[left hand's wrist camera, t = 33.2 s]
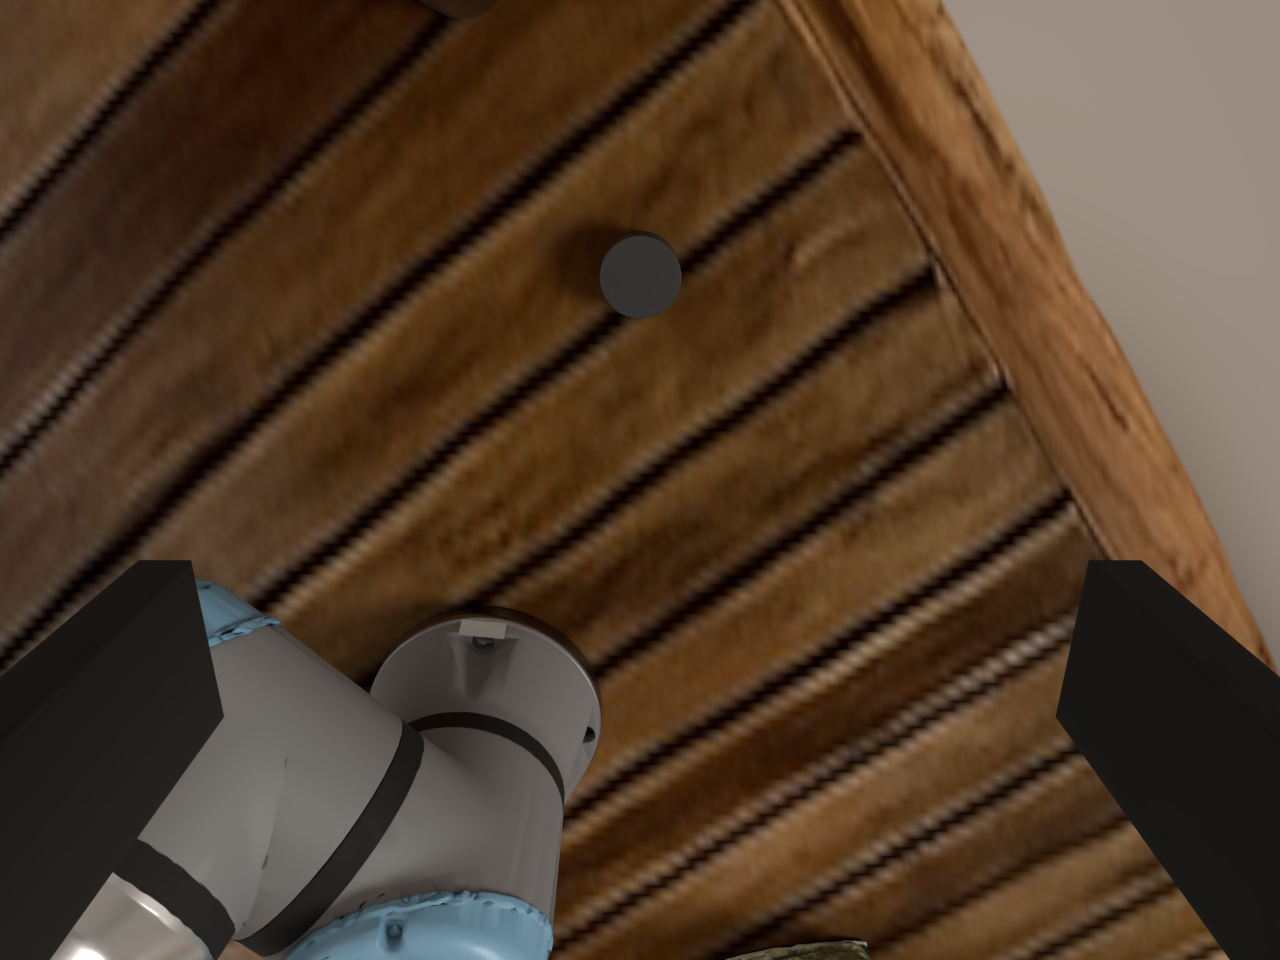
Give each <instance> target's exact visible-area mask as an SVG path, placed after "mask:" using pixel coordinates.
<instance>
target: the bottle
mask: <svg viewBox="0 0 1280 960" xmlns="http://www.w3.org/2000/svg"><path fill="white" fill-rule="evenodd" d="M419 1H421V2H422V3H424V4H426V5H427V6H429V7H431V8H432V9H434V10H435V11H437V12H439V13H440V14H442V15H445V16H447V17H450V18H455V19H469V18H473V17H476V16H479V15H481V14H483V13H484V12H486V11H487V10H489V9H490V8H491V7H492V6H493V5H494V4H495V2H496V1H497V0H419Z"/></svg>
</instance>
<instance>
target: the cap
mask: <svg viewBox="0 0 1280 960" xmlns="http://www.w3.org/2000/svg"><path fill="white" fill-rule="evenodd" d="M680 285H681V270H680V266H679V262H678V259H677V256H676V254H675V252H674V250H673V249H672V247H671V246H670V245H669V244H668V243H667V242H666V241H665V240H664V239H662V238H661V237H659V236H657V235H655V234H652V233H649V232H641V231H640V232H632V233H628V234H625V235H623V236H621V237H620V238H618V239H617V240H616V241H615V242H613V243H612V245H611V246H610V247H609V248H608V250H607V251H606V253H605V255H604V258H603V261H602V265H601V268H600V286H601V290H602V293H603V295H604V297H605V299H606V300H607V302H608V303H609V304H610V305H611V307H613V308H614V309H615V310H616V311H618V312H619V313H621V314H623V315H625V316H628V317H631V318H638V319H643V318H650V317H653V316H656V315H658V314H660V313H662V312H663V311H665V310H666V309H667V308H668V307H669V306H670V305H671V304H672V303H673V301H674V300H675V298H676V296H677V294H678V292H679V289H680Z"/></svg>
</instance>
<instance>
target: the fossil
mask: <svg viewBox="0 0 1280 960" xmlns="http://www.w3.org/2000/svg"><path fill="white" fill-rule="evenodd" d="M726 960H871V958H870V956H869V954H868V950H867V942H860V941H848V940H845V941H839V942H822V943H812V944H799V945H795V946H793V947H787V948H772V949H767V950H762V951H758V952H753V953H748V954H744V955H740V956H736V957H733V958H729V959H726Z"/></svg>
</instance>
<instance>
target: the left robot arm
mask: <svg viewBox="0 0 1280 960" xmlns="http://www.w3.org/2000/svg"><path fill="white" fill-rule="evenodd" d="M281 623H282V622H281V621H280V620H279V619H277V618H276V617H274V616H270V615H268V616H265V615H264V614H262V613H261V612H260V611H258V610H257V609H255V608H254V607H252V606H251V605H249V604H248V603H247V602H245V601H244V600H242V599H241V598H239V597H238V596H236V595H235V594H234V593H232V592H231V591H229V590H228V589H226V588H225V587H223V586H222V585H220V584H218V583H216V582H213V581H210V580H204V579H195V577H194V572H193V567H192V563H191V560H139V561H137V562H136V563H135V564H134V565H133V566H131V567H130V568H129V569H128V570H127V571H125V572H124V573H123V574H122V575H121V576H120V577H118V578H117V579H116V580H115V581H114V582H112V583H111V584H110V585H109V586H108V587H107V588H105V589H104V590H103V591H102V592H101V593H99V594H98V595H97V596H96V597H95V598H93V599H92V600H91V601H90V602H89V603H88V604H86V605H85V606H84V607H83V608H82V609H80V610H79V611H78V612H77V613H76V614H75V615H73V616H72V617H71V618H70V619H69V620H67V621H66V622H65V623H64V624H63V625H61V626H60V627H59V628H58V629H57V630H56V631H54V632H53V633H52V634H51V635H50V636H48V637H47V638H46V639H45V640H44V641H43V642H41V643H40V644H39V645H38V646H37V647H35V648H34V649H33V650H32V651H31V652H29V653H28V654H27V655H26V656H25V657H24V658H22V659H21V660H20V661H19V662H18V663H16V664H15V665H14V666H13V667H12V668H11V669H9V670H8V671H7V672H6V673H5V674H3V675H2V676H1V677H0V960H217V959H218V957H219V956H220V954H221V953H222V951H223V950H224V948H225V947H226V945H227V944H228V942H229V941H230V939H231V938H232V939H234V940H235V941H237V942H239V943H241V944H242V945H244V946H245V947H247V948H248V949H250V950H252V951H253V952H255V953H256V954H258V955H259V956H260V957H262V958H263V959H265V960H547V959H548V958H549V956H550V953H551V950H552V945H553V932H552V927H553V917H554V906H555V896H556V885H557V875H558V864H559V854H560V843H561V833H562V822H563V812H564V805H565V804H566V802H567V800H568V799H569V797H570V795H571V794H572V792H573V790H574V789H575V787H576V786H577V784H578V782H579V781H580V779H581V777H582V776H583V774H584V772H585V771H586V769H587V768H588V766H589V765H590V763H591V761H592V759H593V757H594V755H595V752H596V749H597V747H598V743H599V739H600V731H601V718H602V700H601V692H600V688H599V684H598V681H597V678H596V676H595V673H594V671H593V669H592V667H591V666H590V664H589V662H588V661H587V659H586V658H585V656H584V655H583V654H582V652H581V651H580V650H579V649H578V648H577V647H576V646H575V645H574V644H573V643H572V642H571V641H570V640H569V639H568V638H567V637H566V636H565V635H563V634H562V633H560V632H559V631H558V630H556V629H555V628H553V627H552V626H550V625H548V624H546V623H545V622H543V621H540V620H538V619H536V618H534V617H531V616H529V615H526V614H523V613H519V612H516V611H512V610H506V609H501V608H491V607H473V608H463V609H457V610H452V611H448V612H444V613H442V614H439V615H436V616H433V617H431V618H429V619H427V620H425V621H423V622H421V623H419V624H418V625H416V626H415V627H413V628H412V629H410V630H409V631H408V632H406V633H405V634H404V635H403V636H402V637H401V638H400V639H399V640H398V641H397V642H396V643H395V645H394V646H393V647H392V648H391V650H390V651H389V653H388V654H387V656H386V658H385V660H384V662H383V664H382V666H381V668H380V670H379V672H378V674H377V676H376V678H375V680H374V683H373V686H372V688H371V692H370V694H368V693H367V692H366V691H365V690H363V689H362V688H361V687H359V686H358V685H357V684H356V683H354V682H353V681H352V680H350V679H349V678H348V677H346V676H345V675H344V674H343V673H341V672H340V671H339V670H337V669H336V668H335V667H334V666H332V665H331V664H330V663H328V662H327V661H326V660H325V659H323V658H322V657H321V656H319V655H318V654H317V653H316V652H314V651H313V650H312V649H310V648H309V647H308V646H307V645H305V644H304V643H303V642H301V641H300V640H299V639H298V638H296V637H295V636H294V635H292V634H291V633H290V632H289V631H287V630H286V629H285V628H283V627H282V626H281ZM1056 718H1057V719H1058V721H1059V722H1060V724H1061V725H1062V726H1063V728H1064V729H1065V731H1066V732H1067V733H1068V735H1069V736H1070V737H1071V739H1072V740H1073V742H1074V743H1075V744H1076V746H1077V747H1078V749H1079V750H1080V751H1081V753H1082V754H1083V756H1084V757H1085V758H1086V760H1087V761H1088V763H1089V764H1090V765H1091V767H1092V768H1093V770H1094V771H1095V772H1096V774H1097V775H1098V777H1099V778H1100V779H1101V781H1102V782H1103V783H1104V785H1105V786H1106V788H1107V789H1108V790H1109V792H1110V793H1111V795H1112V796H1113V797H1114V799H1115V800H1116V802H1117V803H1118V804H1119V806H1120V807H1121V809H1122V810H1123V811H1124V813H1125V814H1126V816H1127V817H1128V818H1129V820H1130V821H1131V823H1132V824H1133V825H1134V827H1135V828H1136V829H1137V831H1138V832H1139V834H1140V835H1141V836H1142V838H1143V839H1144V841H1145V842H1146V843H1147V845H1148V846H1149V848H1150V849H1151V850H1152V852H1153V853H1154V855H1155V856H1156V857H1157V859H1158V860H1159V862H1160V863H1161V864H1162V866H1163V867H1164V869H1165V870H1166V871H1167V873H1168V874H1169V875H1170V877H1171V878H1172V880H1173V881H1174V882H1175V884H1176V885H1177V887H1178V888H1179V889H1180V891H1181V892H1182V894H1183V895H1184V896H1185V898H1186V899H1187V901H1188V902H1189V903H1190V905H1191V906H1192V908H1193V909H1194V910H1195V912H1196V913H1197V915H1198V916H1199V917H1200V919H1201V920H1202V921H1203V923H1204V924H1205V926H1206V927H1207V928H1208V930H1209V931H1210V933H1211V934H1212V935H1213V937H1214V938H1215V940H1216V941H1217V942H1218V944H1219V945H1220V947H1221V948H1222V949H1223V951H1224V952H1225V954H1226V955H1227V956H1228V958H1229V959H1230V960H1280V677H1279V676H1278V675H1277V674H1275V673H1274V672H1273V671H1272V670H1271V669H1269V668H1268V667H1267V666H1266V665H1265V664H1264V663H1262V662H1261V661H1260V660H1259V659H1258V658H1256V657H1255V656H1254V655H1253V654H1252V653H1251V652H1249V651H1248V650H1247V649H1246V648H1245V647H1243V646H1242V645H1241V644H1240V643H1239V642H1237V641H1236V640H1235V639H1234V638H1233V637H1232V636H1230V635H1229V634H1228V633H1227V632H1226V631H1224V630H1223V629H1222V628H1221V627H1220V626H1219V625H1217V624H1216V623H1215V622H1214V621H1213V620H1211V619H1210V618H1209V617H1208V616H1207V615H1205V614H1204V613H1203V612H1202V611H1201V610H1200V609H1198V608H1197V607H1196V606H1195V605H1194V604H1192V603H1191V602H1190V601H1189V600H1188V599H1187V598H1185V597H1184V596H1183V595H1182V594H1181V593H1179V592H1178V591H1177V590H1176V589H1175V588H1173V587H1172V586H1171V585H1170V584H1169V583H1168V582H1166V581H1165V580H1164V579H1163V578H1162V577H1160V576H1159V575H1158V574H1157V573H1156V572H1155V571H1153V570H1152V569H1151V568H1150V567H1149V566H1147V565H1146V564H1145V563H1144V562H1143V561H1141V560H1089V563H1088V567H1087V572H1086V577H1085V581H1084V586H1083V591H1082V596H1081V600H1080V605H1079V610H1078V614H1077V619H1076V624H1075V628H1074V633H1073V638H1072V643H1071V647H1070V652H1069V657H1068V661H1067V666H1066V671H1065V675H1064V680H1063V685H1062V690H1061V694H1060V699H1059V704H1058V708H1057V713H1056Z"/></svg>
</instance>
